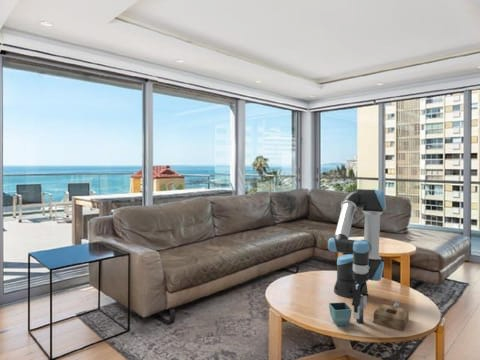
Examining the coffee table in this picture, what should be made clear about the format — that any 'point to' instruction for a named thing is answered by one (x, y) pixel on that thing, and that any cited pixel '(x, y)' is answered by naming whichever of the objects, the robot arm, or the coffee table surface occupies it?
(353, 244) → the robot arm
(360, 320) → the grey metal peg
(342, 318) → the flower pot
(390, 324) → the block
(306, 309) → the coffee table surface
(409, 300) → the coffee table surface
